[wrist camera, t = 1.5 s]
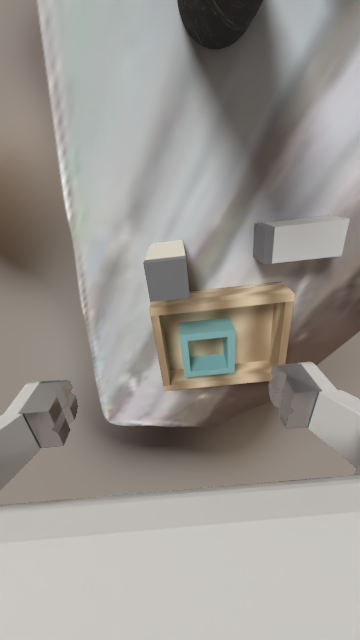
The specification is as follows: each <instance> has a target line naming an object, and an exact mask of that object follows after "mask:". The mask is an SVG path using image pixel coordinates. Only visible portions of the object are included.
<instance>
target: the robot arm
mask: <svg viewBox="0 0 360 640" xmlns="http://www.w3.org/2000/svg"><path fill="white" fill-rule="evenodd" d="M271 374H272V376H273V378H272V379H271V380H270V381H269V395H270V398H271V401H272V403H273V405H275V406H276V407H277V408H279V412H278V415H279V416H280V419H281V420H282V422H283V424H284V426H285V428H305V427H308V429H309V430H310V431H312V432H313V433H314V434H315V435H317V436H318V437H319V438H320V439H321V440H323V441H324V442H325V443H326V444H328V445H329V446H330V447H331V448H332V449H334V450H335V451H336V452H337V453H339V454H340V455H341V456H342V457H343V458H345V459H346V460H347V461H348V462H350V463H351V464H352V465H353V466H354V467H356V468H357V469H356V471H355V473H354V475H352V476H339V477H327V478H315V479H304V480H291V481H279V482H268V483H256V484H244V485H232V486H220V487H210V488H209V487H208V488H196V489H184V490H173V491H161V492H148V493H137V494H124V495H112V496H101V497H89V498H76V499H65V500H52V501H40V502H29V503H17V504H5V505H0V640H360V399H358V398H356V397H354V396H352V395H350V394H348V393H346V392H344V391H342V390H337V389H336V388H335V387H334V386H333V385H332V383H331V382H330V381H329V380H328V379H327V378H326V377H325V376H324V375H323V373H322V372H321V371H320V370H319V369H318V368H317V366H316V365H315V364H314V363H312V362H304V363H296V364H283V365H273V367H272V370H271ZM72 388H73V387H72V385H71V382H70V381H68V380H57V381H42V382H29V383H27V384H26V385H25V386H24V388H23V389H22V390H21V391H20V393H19V394H18V395H17V397H16V398H15V399H14V401H13V402H12V403H11V405H10V406H9V408H8V409H7V410H6V412H5V413H4V415H3V416H0V490H1V489H2V488H3V487H4V486H5V485H6V484H7V483H8V482H9V481H10V480H11V479H12V478H13V477H14V476H15V475H16V474H17V473H18V472H19V471H20V470H21V469H22V468H23V467H24V466H25V465H26V464H27V463H28V462H29V461H30V460H31V459H32V458H33V457H34V456H35V455H36V454H37V453H38V451H40V448H49V447H58V446H64V444H65V441H66V439H67V437H68V434H69V432H70V428H69V426H68V425H69V424H70V423H71V422H72V421H74V419H75V417H76V414H77V407H78V405H77V399H76V396H75V395H74V394H72V393H71V390H72Z"/></svg>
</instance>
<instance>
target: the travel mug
mask: <svg viewBox="0 0 360 640" xmlns="http://www.w3.org/2000/svg"><path fill="white" fill-rule="evenodd" d="M177 1H178V7H179V11H180V15H181V18H182V21H183V23H184V25H185V27H186V29H187V31H188V32H189V34H190V35H191V36H192V38H193V39H194V40H195V41H196V42H198V43H199V44H201V45H202V46H204V47H207V48H210V49H221V48H225V47H227V46H229V45H231V44H233V43H234V42H235V41H237V40H238V39H239V38H240V37H241V36H242V35H243V33H244V32H245V31H246V29H247V28H248V26H249V25H250V23H251V21H252V19H253V18H254V16H255V14H256V12H257V10H258V9H259V7H260V5H261V3H262V1H263V0H177Z"/></svg>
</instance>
